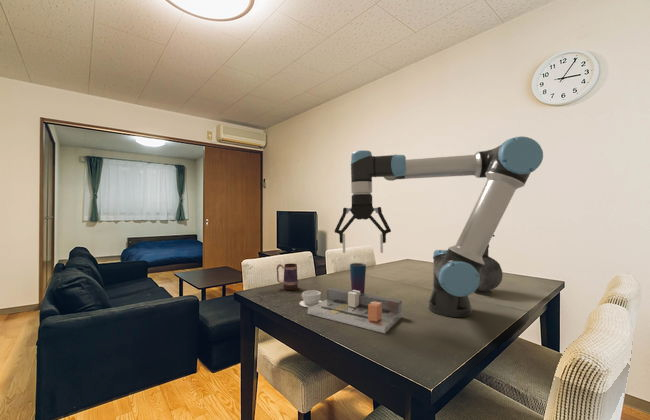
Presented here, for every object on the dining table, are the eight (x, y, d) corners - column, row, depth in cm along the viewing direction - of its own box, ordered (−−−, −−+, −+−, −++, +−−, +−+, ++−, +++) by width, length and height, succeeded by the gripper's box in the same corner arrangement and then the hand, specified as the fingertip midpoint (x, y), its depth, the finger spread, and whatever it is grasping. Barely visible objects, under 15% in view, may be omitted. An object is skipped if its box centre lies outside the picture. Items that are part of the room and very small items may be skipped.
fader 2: (382, 317, 97) (382, 302, 97) (376, 321, 94) (376, 305, 93) (373, 315, 99) (373, 300, 99) (368, 319, 95) (368, 303, 95)
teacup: (328, 303, 119) (328, 291, 119) (314, 310, 111) (314, 298, 111) (309, 298, 125) (309, 288, 125) (294, 305, 116) (294, 293, 116)
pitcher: (487, 299, 124) (487, 229, 123) (454, 287, 142) (454, 226, 141) (506, 296, 127) (506, 228, 127) (472, 285, 145) (472, 225, 145)
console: (401, 317, 103) (401, 300, 103) (384, 333, 90) (384, 314, 90) (330, 301, 120) (330, 287, 120) (307, 313, 107) (307, 297, 107)
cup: (365, 302, 119) (365, 266, 119) (349, 301, 120) (349, 265, 120) (366, 297, 126) (366, 263, 126) (350, 296, 127) (350, 262, 127)
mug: (297, 286, 144) (297, 262, 144) (298, 290, 137) (298, 265, 137) (277, 287, 142) (276, 262, 142) (276, 291, 135) (276, 265, 135)
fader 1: (360, 304, 110) (360, 290, 110) (355, 307, 107) (355, 293, 107) (353, 302, 112) (353, 289, 112) (347, 305, 108) (347, 292, 108)
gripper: (395, 193, 108) (396, 250, 108) (328, 195, 110) (329, 250, 111) (398, 192, 100) (399, 253, 100) (326, 194, 103) (327, 253, 103)
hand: (362, 252), depth 106 cm, fingers open, 13 cm apart
